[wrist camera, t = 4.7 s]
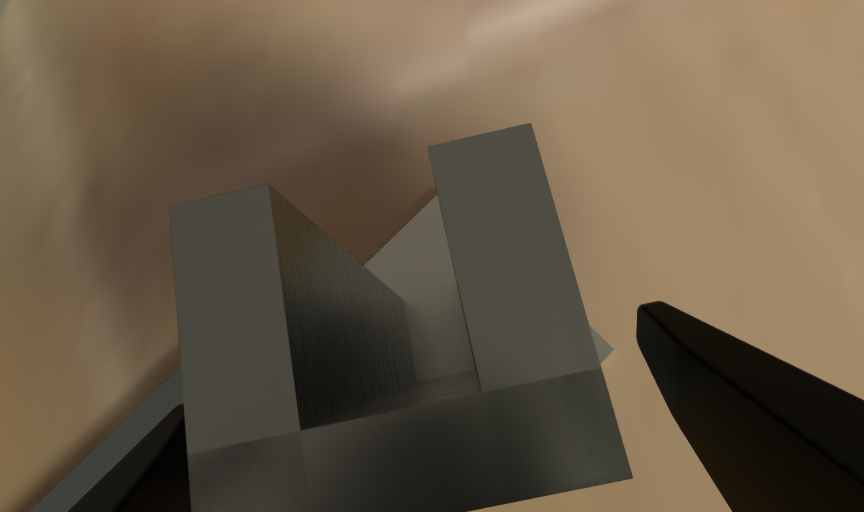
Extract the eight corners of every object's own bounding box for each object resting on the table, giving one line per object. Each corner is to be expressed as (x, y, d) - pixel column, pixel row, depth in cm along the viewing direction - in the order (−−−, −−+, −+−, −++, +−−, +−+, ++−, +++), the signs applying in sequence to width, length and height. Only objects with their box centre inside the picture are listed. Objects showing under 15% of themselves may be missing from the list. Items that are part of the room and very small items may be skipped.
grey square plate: (610, 349, 17) (614, 349, 17) (442, 530, 16) (441, 535, 16) (441, 193, 19) (441, 190, 19) (282, 348, 18) (278, 348, 18)
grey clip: (520, 394, 17) (632, 478, 5) (387, 422, 17) (195, 566, 5) (492, 278, 18) (531, 123, 6) (367, 306, 18) (169, 206, 6)
